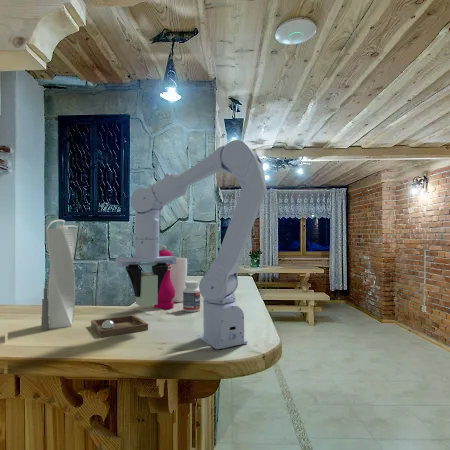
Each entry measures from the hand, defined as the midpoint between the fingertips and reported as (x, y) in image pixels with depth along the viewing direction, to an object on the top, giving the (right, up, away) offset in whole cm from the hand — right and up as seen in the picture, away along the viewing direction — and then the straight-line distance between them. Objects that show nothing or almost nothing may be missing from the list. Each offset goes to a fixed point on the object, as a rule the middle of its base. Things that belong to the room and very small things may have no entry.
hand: (146, 295), depth 84 cm
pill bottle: (+9, -10, +24) cm, 27 cm away
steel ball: (-9, -8, -2) cm, 12 cm away
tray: (-7, -9, +2) cm, 12 cm away
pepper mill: (-1, -10, +27) cm, 29 cm away
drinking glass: (+2, -10, +38) cm, 39 cm away
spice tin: (0, -2, 0) cm, 2 cm away
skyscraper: (-23, -10, +5) cm, 26 cm away
